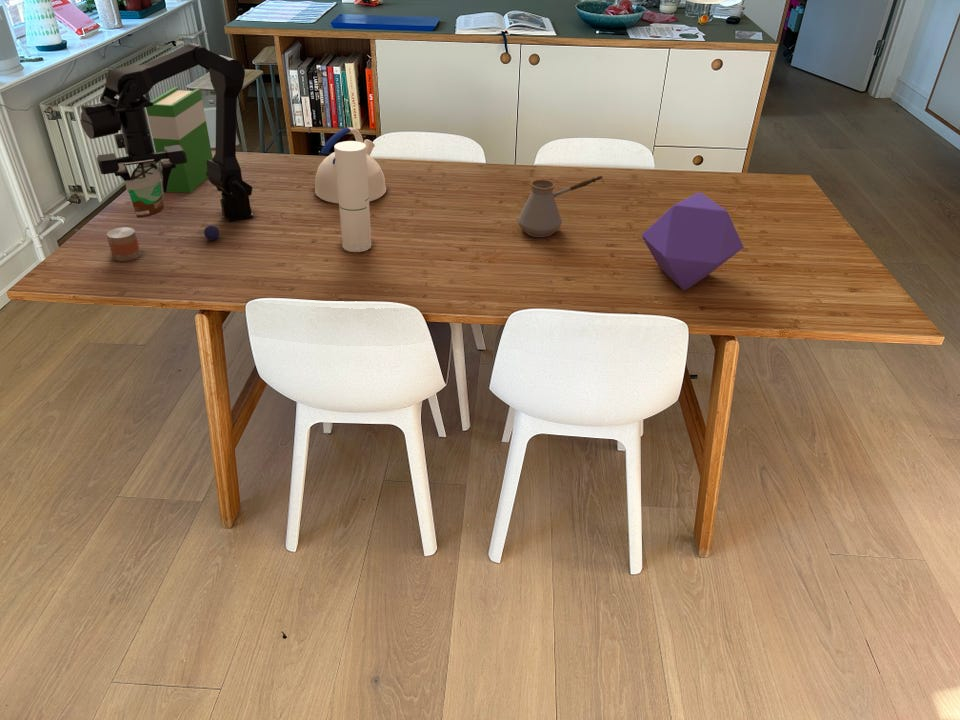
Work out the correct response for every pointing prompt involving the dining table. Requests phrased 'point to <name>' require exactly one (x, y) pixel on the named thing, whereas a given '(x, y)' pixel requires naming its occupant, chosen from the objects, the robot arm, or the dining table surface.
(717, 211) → the purple faceted block
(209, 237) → the blue ball
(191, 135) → the hardback book
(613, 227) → the dining table surface
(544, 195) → the coffee pot
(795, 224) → the dining table surface
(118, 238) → the tin can
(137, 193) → the food container
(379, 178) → the kettle
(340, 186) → the cylindrical container
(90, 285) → the dining table surface
